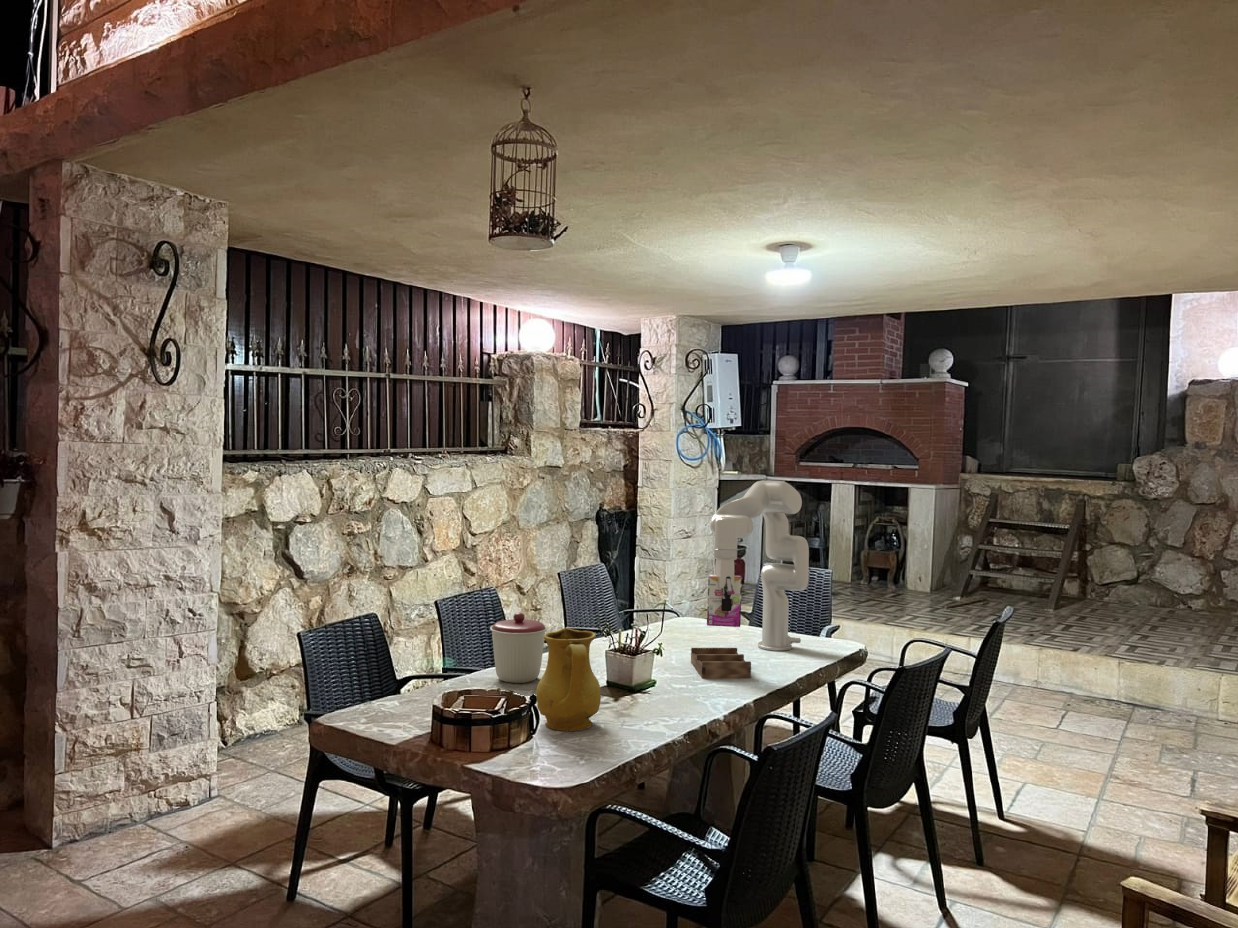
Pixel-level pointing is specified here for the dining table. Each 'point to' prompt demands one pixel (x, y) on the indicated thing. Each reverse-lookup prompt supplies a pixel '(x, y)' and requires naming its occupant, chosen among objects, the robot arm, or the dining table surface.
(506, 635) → the canister
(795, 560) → the robot arm
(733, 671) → the rack
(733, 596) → the candy bar box
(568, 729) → the pitcher
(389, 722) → the dining table surface
